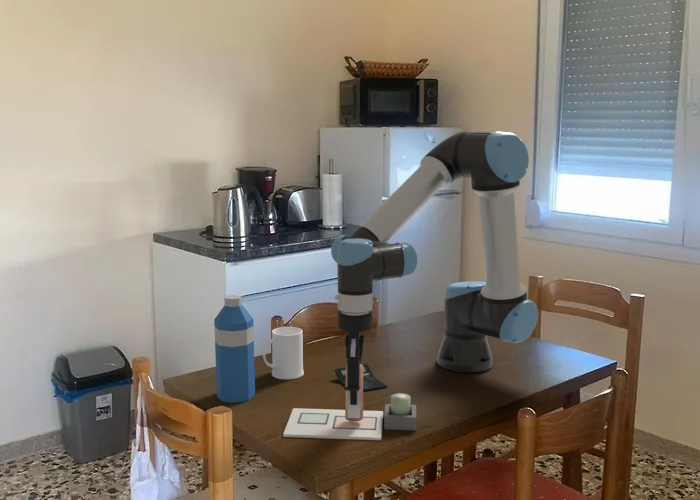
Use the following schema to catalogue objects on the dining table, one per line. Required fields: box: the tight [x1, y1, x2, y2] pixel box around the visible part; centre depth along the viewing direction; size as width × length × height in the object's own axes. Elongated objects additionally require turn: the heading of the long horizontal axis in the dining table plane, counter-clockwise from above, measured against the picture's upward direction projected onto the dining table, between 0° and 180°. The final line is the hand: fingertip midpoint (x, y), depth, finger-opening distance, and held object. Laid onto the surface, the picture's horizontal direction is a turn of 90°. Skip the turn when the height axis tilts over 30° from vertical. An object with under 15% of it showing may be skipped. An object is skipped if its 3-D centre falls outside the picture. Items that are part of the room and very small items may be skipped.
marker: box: [344, 364, 364, 421], centre depth 158 cm, size 4×4×13 cm
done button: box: [390, 392, 412, 415], centre depth 160 cm, size 4×4×4 cm
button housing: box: [383, 403, 417, 431], centre depth 160 cm, size 7×7×3 cm
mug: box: [262, 326, 305, 381], centre depth 189 cm, size 12×8×12 cm
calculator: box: [334, 363, 388, 393], centre depth 185 cm, size 9×12×3 cm
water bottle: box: [213, 294, 256, 404], centre depth 174 cm, size 9×9×25 cm
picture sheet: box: [282, 407, 384, 441], centre depth 160 cm, size 21×14×1 cm, turn 86°
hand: (354, 412), depth 159 cm, fingers closed on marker, 4 cm apart
